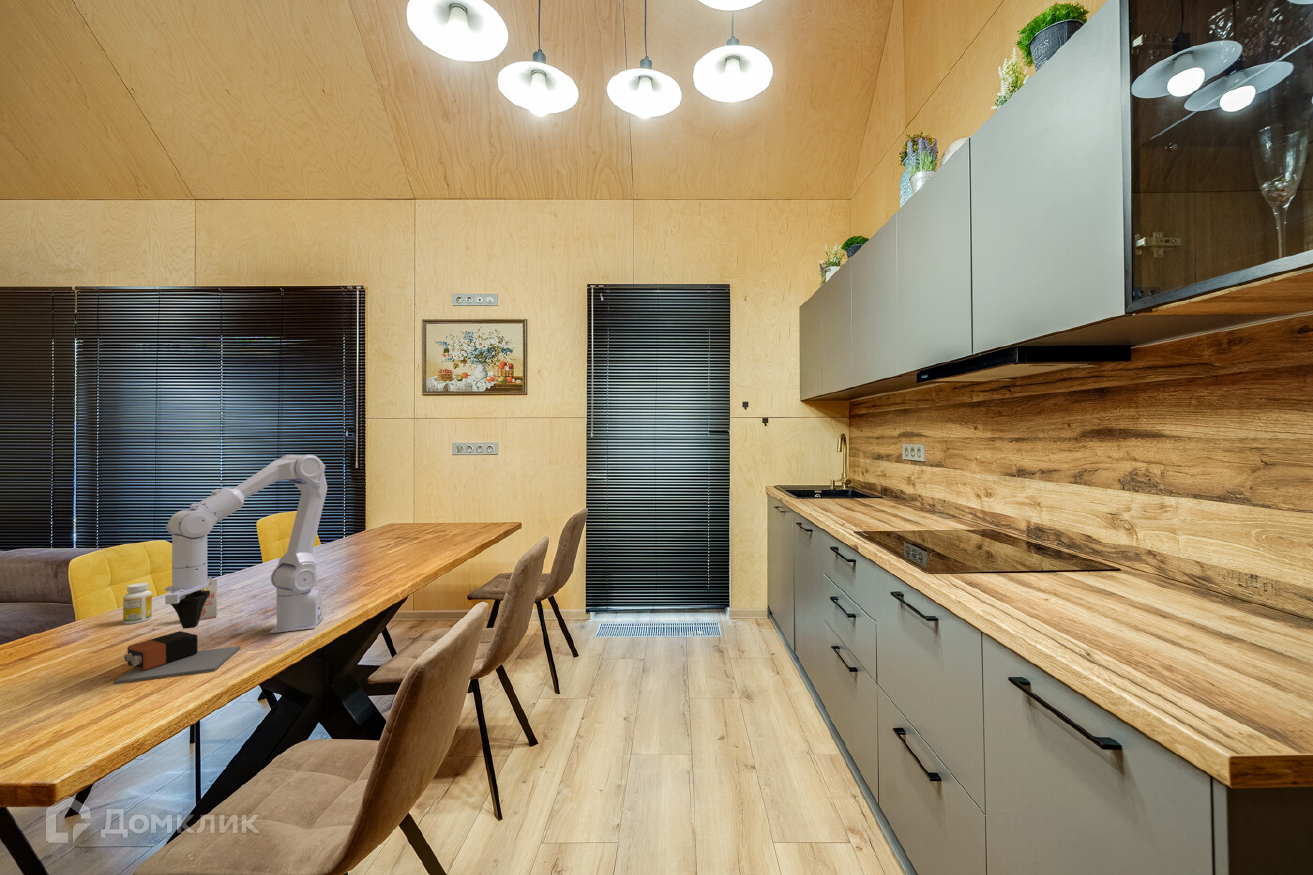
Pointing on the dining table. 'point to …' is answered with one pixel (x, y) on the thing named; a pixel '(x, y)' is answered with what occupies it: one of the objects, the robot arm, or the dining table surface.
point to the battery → (161, 650)
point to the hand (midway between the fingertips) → (190, 627)
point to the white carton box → (210, 603)
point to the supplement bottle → (137, 604)
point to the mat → (183, 666)
